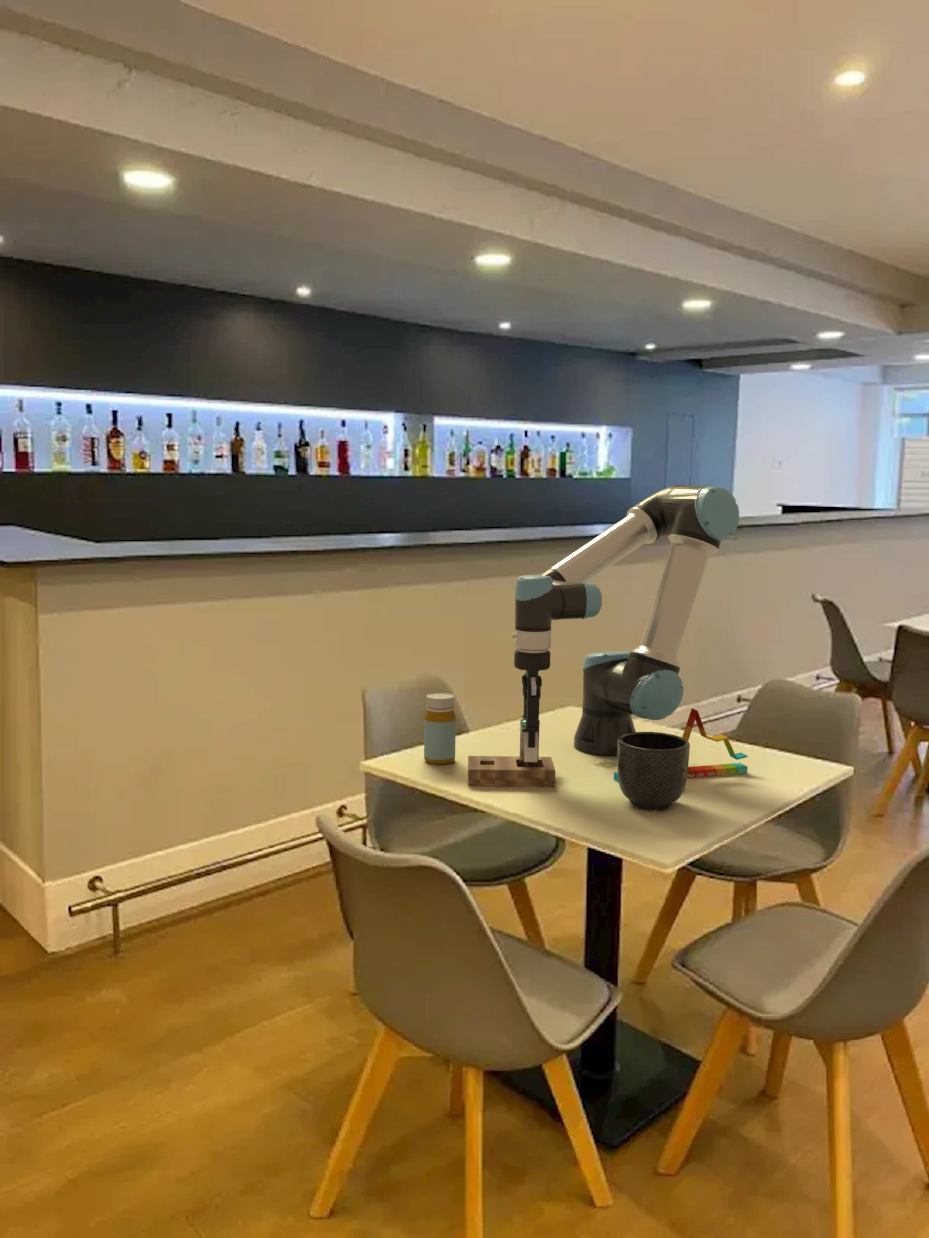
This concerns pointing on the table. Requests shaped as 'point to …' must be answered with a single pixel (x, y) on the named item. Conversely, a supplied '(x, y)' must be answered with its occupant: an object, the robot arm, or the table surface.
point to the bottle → (439, 729)
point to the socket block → (509, 772)
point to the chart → (709, 769)
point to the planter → (652, 768)
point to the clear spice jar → (522, 743)
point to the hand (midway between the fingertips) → (529, 758)
